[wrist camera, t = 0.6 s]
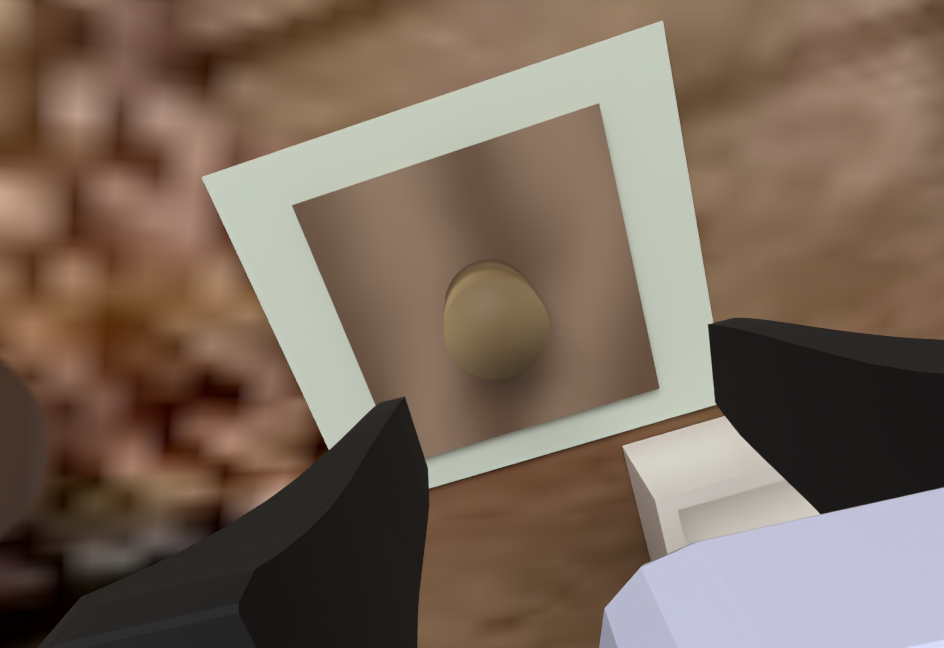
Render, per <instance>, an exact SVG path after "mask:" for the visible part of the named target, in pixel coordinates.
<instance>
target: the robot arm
mask: <svg viewBox="0 0 944 648" xmlns="http://www.w3.org/2000/svg"><path fill="white" fill-rule="evenodd" d="M708 332H709V343H710V354H711V364H712V375H713V386H714V396H715V403H716V404H717V406H718V407H719V408H720V410H721V411H722V413H723V414H724V415H725V417H726V418H727V419H728V421H729V422H730V423H731V425H732V426H733V427H734V428H735V430H736V431H737V432H738V433H739V435H740V436H741V437H742V438H743V439H744V440H745V441H746V442H747V443H748V444H749V445H750V446H751V447H752V448H753V449H754V450H755V451H756V452H757V453H758V454H759V455H760V456H761V457H762V458H763V459H764V460H765V461H766V462H767V463H769V464H770V465H771V466H772V467H773V468H774V469H775V470H776V471H777V472H778V473H779V474H780V475H781V476H782V477H783V478H784V479H785V480H786V481H787V482H788V483H789V484H790V485H791V486H792V487H793V488H794V489H795V490H796V491H797V492H798V493H800V494H801V495H802V496H803V497H804V498H805V499H806V500H807V501H808V502H809V503H810V504H811V505H812V506H813V507H814V508H815V509H816V510H817V511H818V512H819V513H820V515H816V516H811V517H807V518H802V519H797V520H793V521H788V522H784V523H779V524H775V525H770V526H766V527H761V528H757V529H752V530H747V531H743V532H738V533H734V534H729V535H725V536H720V537H716V538H711V539H707V540H702V541H698V542H693V543H691V544H689V545H687V546H684V547H682V548H680V549H677V550H675V551H673V552H671V553H668V554H666V555H664V556H662V557H659V558H657V559H655V560H653V561H650V562H648V563H646V564H644V565H642V566H641V567H640V569H639V570H638V571H637V572H636V573H635V574H634V575H633V577H632V578H631V579H630V580H629V581H628V582H627V583H626V585H625V586H624V587H623V588H622V589H621V590H620V591H619V593H618V594H617V595H616V596H615V597H614V598H613V599H612V601H611V602H610V603H609V604H608V605H607V606H606V607H605V609H604V616H603V623H602V631H601V638H600V645H599V648H944V340H936V339H917V338H903V337H891V336H881V335H872V334H863V333H854V332H846V331H839V330H831V329H824V328H817V327H811V326H804V325H797V324H791V323H784V322H777V321H770V320H761V319H752V318H732V319H728V320H724V321H720V322H715V323H711V324H708ZM428 512H429V479H428V467H427V464H426V461H425V457H424V454H423V451H422V448H421V445H420V442H419V439H418V436H417V432H416V429H415V426H414V423H413V420H412V417H411V414H410V411H409V408H408V404H407V401H406V398H405V397H401V398H397V399H392V400H388V401H384V402H380V403H379V404H377V405H376V406H375V407H373V408H372V409H371V410H370V411H369V412H368V413H367V414H366V415H365V416H364V417H363V418H362V419H361V420H360V421H359V422H358V423H357V424H356V425H355V426H354V427H353V428H352V429H351V430H350V431H349V432H348V433H347V434H346V435H345V436H344V437H343V438H342V439H340V440H339V441H338V442H337V443H336V444H335V445H334V446H333V447H332V448H331V449H330V450H329V451H328V452H326V453H325V454H324V455H323V456H322V457H321V458H320V459H319V460H318V461H316V462H315V463H314V464H313V465H312V466H311V467H310V468H309V469H307V470H306V471H305V472H304V473H303V474H301V475H300V476H299V477H298V478H296V479H295V480H294V481H293V482H291V483H290V484H289V485H287V486H286V487H285V488H283V489H282V490H281V491H279V492H278V493H277V494H275V495H274V496H272V497H271V498H270V499H268V500H267V501H265V502H264V503H262V504H261V505H259V506H258V507H256V508H254V509H253V510H251V511H250V512H248V513H247V514H245V515H243V516H242V517H240V518H239V519H237V520H236V521H234V522H232V523H231V524H229V525H228V526H226V527H224V528H223V529H221V530H219V531H218V532H216V533H214V534H212V535H210V536H209V537H207V538H205V539H203V540H201V541H200V542H198V543H196V544H194V545H192V546H190V547H188V548H186V549H185V550H183V551H181V552H179V553H177V554H175V555H173V556H171V557H169V558H167V559H165V560H163V561H161V562H159V563H157V564H155V565H153V566H150V567H148V568H146V569H144V570H142V571H139V572H137V573H135V574H133V575H130V576H128V577H126V578H124V579H121V580H119V581H117V582H115V583H113V584H110V585H108V586H106V587H104V588H101V589H99V590H97V591H94V592H92V593H90V594H87V595H85V596H83V597H81V598H80V599H79V600H78V601H77V602H76V604H75V605H74V606H73V607H72V608H71V609H70V611H69V612H68V613H67V614H66V615H65V616H64V618H63V619H62V620H61V621H60V622H59V623H58V625H57V626H56V627H55V628H54V629H53V630H52V632H51V633H50V634H49V635H48V636H47V637H46V639H45V640H44V641H43V642H42V643H41V644H40V646H39V647H38V648H417V629H418V603H419V590H420V582H421V573H422V565H423V556H424V548H425V539H426V530H427V521H428Z"/></svg>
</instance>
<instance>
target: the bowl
mask: <svg viewBox="0 0 944 648" xmlns="http://www.w3.org/2000/svg"><path fill="white" fill-rule="evenodd" d="M622 448H623V452H624V456H625V460H626V464H627V468H628V472H629V476H630V480H631V484H632V488H633V492H634V496H635V500H636V504H637V508H638V512H639V516H640V520H641V524H642V528H643V532H644V536H645V540H646V544H647V548H648V552H649V556H650V560H651V561H653V560H655V559H657V558H659V557H662V556H664V555H666V554H668V553H671V552H673V551H675V550H677V549H680V548H682V547H684V546H687V545H689V544H691V543H693V542H698V541H702V540H707V539H711V538H716V537H720V536H725V535H729V534H734V533H738V532H743V531H747V530H752V529H757V528H761V527H766V526H770V525H775V524H779V523H784V522H788V521H793V520H797V519H802V518H807V517H811V516H816V515H820V513H819V512H818V511H817V510H816V509H815V508H814V507H813V506H812V505H811V504H810V503H809V502H808V501H807V500H806V499H805V498H804V497H803V496H802V495H801V494H800V493H798V492H797V491H796V490H795V489H794V488H793V487H792V486H791V485H790V484H789V483H788V482H787V481H786V480H785V479H784V478H783V477H782V476H781V475H780V474H779V473H778V472H777V471H776V470H775V469H774V468H773V467H772V466H771V465H770V464H769V463H767V462H766V461H765V460H764V459H763V458H762V457H761V456H760V455H759V454H758V453H757V452H756V451H755V450H754V449H753V448H752V447H751V446H750V445H749V444H748V443H747V442H746V441H745V440H744V439H743V438H742V437H741V436H740V435H739V433H738V432H737V431H736V430H735V428H734V427H733V426H732V425H731V423H730V422H729V421H728V419H727V418H726V417H725V416H723V417H720V418H716V419H713V420H709V421H706V422H702V423H699V424H696V425H692V426H689V427H685V428H682V429H678V430H675V431H672V432H668V433H665V434H661V435H658V436H654V437H651V438H647V439H644V440H641V441H637V442H634V443H630V444H627V445H623V446H622Z"/></svg>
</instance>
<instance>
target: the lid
mask: <svg viewBox="0 0 944 648" xmlns="http://www.w3.org/2000/svg"><path fill="white" fill-rule="evenodd" d="M292 207H293V210H294V212H295V214H296V217H297V219H298V222H299V224H300V226H301V229H302V231H303V233H304V236H305V238H306V241H307V243H308V245H309V248H310V250H311V253H312V255H313V257H314V260H315V262H316V264H317V267H318V269H319V272H320V274H321V276H322V279H323V281H324V284H325V286H326V288H327V291H328V293H329V296H330V298H331V300H332V303H333V305H334V307H335V310H336V312H337V315H338V317H339V319H340V322H341V324H342V327H343V329H344V331H345V334H346V336H347V338H348V341H349V343H350V346H351V348H352V350H353V353H354V355H355V358H356V360H357V362H358V365H359V367H360V369H361V372H362V374H363V377H364V379H365V381H366V384H367V386H368V389H369V391H370V393H371V396H372V398H373V401H374V403H375V405H377V404H379V403H380V402H384V401H388V400H392V399H397V398H401V397H405V398H406V401H407V404H408V408H409V411H410V414H411V417H412V420H413V423H414V426H415V429H416V432H417V436H418V439H419V442H420V445H421V448H422V451H423V454H424V457H425V458H427V457H430V456H433V455H437V454H440V453H443V452H447V451H450V450H454V449H457V448H460V447H464V446H467V445H470V444H474V443H477V442H481V441H484V440H487V439H491V438H494V437H497V436H501V435H504V434H508V433H511V432H514V431H518V430H521V429H524V428H528V427H531V426H535V425H538V424H541V423H545V422H548V421H551V420H555V419H558V418H562V417H565V416H568V415H572V414H575V413H578V412H582V411H585V410H589V409H592V408H595V407H599V406H602V405H605V404H609V403H612V402H616V401H619V400H622V399H626V398H629V397H632V396H636V395H639V394H643V393H646V392H649V391H653V390H656V389H660V388H659V383H658V378H657V374H656V369H655V364H654V359H653V355H652V350H651V345H650V341H649V336H648V331H647V326H646V322H645V317H644V312H643V308H642V303H641V298H640V293H639V289H638V284H637V279H636V275H635V270H634V265H633V260H632V256H631V251H630V246H629V242H628V237H627V232H626V228H625V223H624V218H623V213H622V209H621V204H620V199H619V195H618V190H617V185H616V180H615V176H614V171H613V166H612V162H611V157H610V152H609V147H608V143H607V138H606V133H605V129H604V124H603V119H602V115H601V110H600V105H599V103H598V104H595V105H592V106H589V107H586V108H583V109H580V110H577V111H574V112H571V113H568V114H565V115H562V116H559V117H556V118H553V119H550V120H547V121H544V122H541V123H538V124H535V125H532V126H529V127H526V128H523V129H520V130H517V131H514V132H511V133H508V134H505V135H502V136H499V137H496V138H493V139H490V140H487V141H484V142H481V143H478V144H475V145H472V146H469V147H466V148H462V149H459V150H456V151H453V152H450V153H447V154H444V155H441V156H438V157H435V158H432V159H429V160H426V161H423V162H420V163H417V164H414V165H411V166H408V167H405V168H402V169H399V170H396V171H393V172H390V173H387V174H384V175H381V176H378V177H375V178H372V179H369V180H366V181H363V182H360V183H357V184H354V185H351V186H348V187H345V188H342V189H339V190H336V191H333V192H330V193H327V194H324V195H321V196H318V197H315V198H312V199H309V200H306V201H303V202H300V203H297V204H294V205H292Z"/></svg>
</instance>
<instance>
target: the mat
mask: <svg viewBox="0 0 944 648" xmlns="http://www.w3.org/2000/svg"><path fill="white" fill-rule="evenodd" d="M598 103H599V105H600V110H601V115H602V119H603V124H604V129H605V133H606V138H607V143H608V147H609V152H610V157H611V162H612V166H613V171H614V176H615V180H616V185H617V190H618V195H619V199H620V204H621V209H622V213H623V218H624V223H625V228H626V232H627V237H628V242H629V246H630V251H631V256H632V260H633V265H634V270H635V275H636V279H637V284H638V289H639V293H640V298H641V303H642V308H643V312H644V317H645V322H646V326H647V331H648V336H649V341H650V345H651V350H652V355H653V359H654V364H655V369H656V374H657V378H658V383H659V388H660V389H656V390H653V391H649V392H646V393H643V394H639V395H636V396H632V397H629V398H626V399H622V400H619V401H616V402H612V403H609V404H605V405H602V406H599V407H595V408H592V409H589V410H585V411H582V412H578V413H575V414H572V415H568V416H565V417H562V418H558V419H555V420H551V421H548V422H545V423H541V424H538V425H535V426H531V427H528V428H524V429H521V430H518V431H514V432H511V433H508V434H504V435H501V436H497V437H494V438H491V439H487V440H484V441H481V442H477V443H474V444H470V445H467V446H464V447H460V448H457V449H454V450H450V451H447V452H443V453H440V454H437V455H433V456H430V457H427V458H425V461H426V464H427V467H428V479H429V488H433V487H436V486H440V485H443V484H446V483H450V482H453V481H457V480H460V479H464V478H467V477H470V476H474V475H477V474H481V473H484V472H488V471H491V470H494V469H498V468H501V467H505V466H508V465H511V464H515V463H518V462H522V461H525V460H529V459H532V458H535V457H539V456H542V455H546V454H549V453H553V452H556V451H559V450H563V449H566V448H570V447H573V446H576V445H580V444H583V443H587V442H590V441H594V440H597V439H600V438H604V437H607V436H611V435H614V434H618V433H621V432H624V431H628V430H631V429H635V428H638V427H641V426H645V425H648V424H652V423H655V422H659V421H662V420H665V419H669V418H672V417H676V416H679V415H682V414H686V413H689V412H693V411H696V410H700V409H703V408H706V407H710V406H713V405H717V404H716V403H715V396H714V386H713V375H712V364H711V354H710V343H709V332H708V324H711V323H713V319H712V313H711V307H710V301H709V295H708V289H707V283H706V277H705V271H704V265H703V259H702V253H701V247H700V241H699V235H698V229H697V223H696V217H695V211H694V205H693V199H692V193H691V187H690V181H689V175H688V169H687V163H686V157H685V151H684V145H683V139H682V133H681V127H680V121H679V115H678V109H677V103H676V97H675V91H674V85H673V79H672V73H671V67H670V61H669V55H668V49H667V43H666V37H665V31H664V25H663V21H660V22H657V23H654V24H651V25H648V26H645V27H642V28H639V29H636V30H633V31H630V32H627V33H625V34H622V35H619V36H616V37H613V38H610V39H607V40H604V41H601V42H598V43H595V44H592V45H589V46H586V47H583V48H580V49H577V50H574V51H572V52H569V53H566V54H563V55H560V56H557V57H554V58H551V59H548V60H545V61H542V62H539V63H536V64H533V65H530V66H527V67H524V68H521V69H519V70H516V71H513V72H510V73H507V74H504V75H501V76H498V77H495V78H492V79H489V80H486V81H483V82H480V83H477V84H474V85H471V86H468V87H466V88H463V89H460V90H457V91H454V92H451V93H448V94H445V95H442V96H439V97H436V98H433V99H430V100H427V101H424V102H421V103H418V104H415V105H413V106H410V107H407V108H404V109H401V110H398V111H395V112H392V113H389V114H386V115H383V116H380V117H377V118H374V119H371V120H368V121H365V122H362V123H359V124H357V125H354V126H351V127H348V128H345V129H342V130H339V131H336V132H333V133H330V134H327V135H324V136H321V137H318V138H315V139H312V140H309V141H306V142H304V143H301V144H298V145H295V146H292V147H289V148H286V149H283V150H280V151H277V152H274V153H271V154H268V155H265V156H262V157H259V158H256V159H253V160H251V161H248V162H245V163H242V164H239V165H236V166H233V167H230V168H227V169H224V170H221V171H218V172H215V173H212V174H209V175H206V176H203V177H202V179H203V181H204V183H205V186H206V188H207V190H208V192H209V194H210V196H211V198H212V201H213V203H214V205H215V207H216V209H217V211H218V213H219V216H220V218H221V220H222V222H223V224H224V226H225V228H226V230H227V233H228V235H229V237H230V239H231V241H232V243H233V245H234V248H235V250H236V252H237V254H238V256H239V258H240V260H241V263H242V265H243V267H244V269H245V271H246V273H247V275H248V278H249V280H250V282H251V284H252V286H253V288H254V290H255V293H256V295H257V297H258V299H259V301H260V303H261V305H262V307H263V310H264V312H265V314H266V316H267V318H268V320H269V322H270V325H271V327H272V329H273V331H274V333H275V335H276V337H277V340H278V342H279V344H280V346H281V348H282V350H283V352H284V355H285V357H286V359H287V361H288V363H289V365H290V367H291V370H292V372H293V374H294V376H295V378H296V380H297V382H298V385H299V387H300V389H301V391H302V393H303V395H304V397H305V399H306V402H307V404H308V406H309V408H310V410H311V412H312V414H313V417H314V419H315V421H316V423H317V425H318V427H319V429H320V432H321V434H322V436H323V438H324V440H325V442H326V444H327V447H328V449H329V450H330V449H331V448H332V447H333V446H334V445H335V444H336V443H337V442H338V441H339V440H340V439H342V438H343V437H344V436H345V435H346V434H347V433H348V432H349V431H350V430H351V429H352V428H353V427H354V426H355V425H356V424H357V423H358V422H359V421H360V420H361V419H362V418H363V417H364V416H365V415H366V414H367V413H368V412H369V411H370V410H371V409H372V408H373V407H375V406H376V405H375V403H374V401H373V398H372V396H371V393H370V391H369V389H368V386H367V384H366V381H365V379H364V377H363V374H362V372H361V369H360V367H359V365H358V362H357V360H356V358H355V355H354V353H353V350H352V348H351V346H350V343H349V341H348V338H347V336H346V334H345V331H344V329H343V327H342V324H341V322H340V319H339V317H338V315H337V312H336V310H335V307H334V305H333V303H332V300H331V298H330V296H329V293H328V291H327V288H326V286H325V284H324V281H323V279H322V276H321V274H320V272H319V269H318V267H317V264H316V262H315V260H314V257H313V255H312V253H311V250H310V248H309V245H308V243H307V241H306V238H305V236H304V233H303V231H302V229H301V226H300V224H299V222H298V219H297V217H296V214H295V212H294V210H293V207H292V205H294V204H297V203H300V202H303V201H306V200H309V199H312V198H315V197H318V196H321V195H324V194H327V193H330V192H333V191H336V190H339V189H342V188H345V187H348V186H351V185H354V184H357V183H360V182H363V181H366V180H369V179H372V178H375V177H378V176H381V175H384V174H387V173H390V172H393V171H396V170H399V169H402V168H405V167H408V166H411V165H414V164H417V163H420V162H423V161H426V160H429V159H432V158H435V157H438V156H441V155H444V154H447V153H450V152H453V151H456V150H459V149H462V148H466V147H469V146H472V145H475V144H478V143H481V142H484V141H487V140H490V139H493V138H496V137H499V136H502V135H505V134H508V133H511V132H514V131H517V130H520V129H523V128H526V127H529V126H532V125H535V124H538V123H541V122H544V121H547V120H550V119H553V118H556V117H559V116H562V115H565V114H568V113H571V112H574V111H577V110H580V109H583V108H586V107H589V106H592V105H595V104H598Z"/></svg>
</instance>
